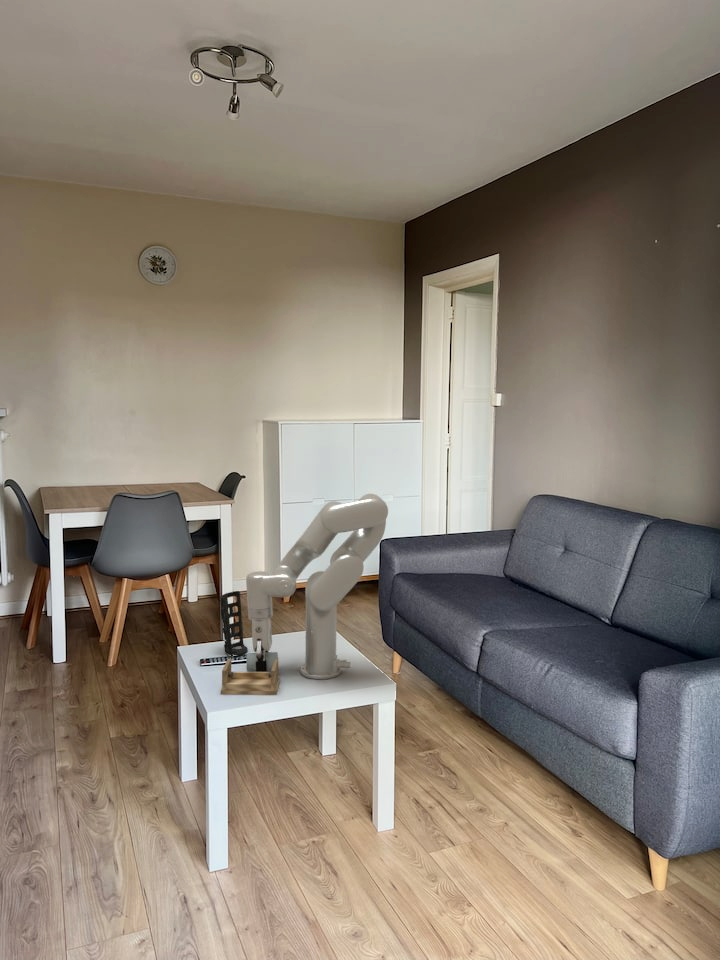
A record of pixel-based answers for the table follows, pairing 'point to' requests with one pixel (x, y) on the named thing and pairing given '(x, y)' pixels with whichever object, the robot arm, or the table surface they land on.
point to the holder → (226, 624)
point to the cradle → (250, 681)
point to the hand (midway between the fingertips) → (262, 668)
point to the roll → (268, 657)
